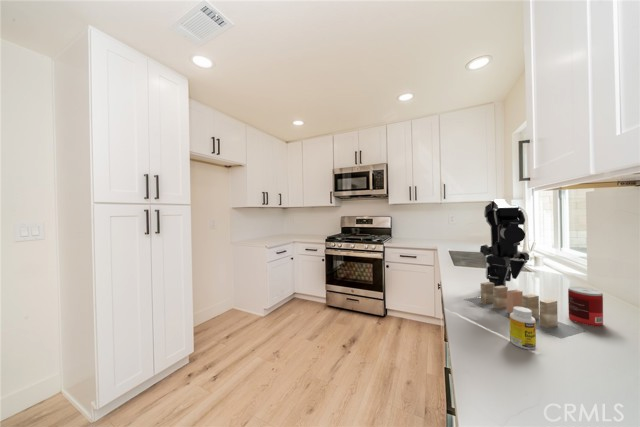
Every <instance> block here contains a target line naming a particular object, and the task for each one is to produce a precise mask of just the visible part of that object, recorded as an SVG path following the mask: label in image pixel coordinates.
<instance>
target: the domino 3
mask: <svg viewBox="0 0 640 427" xmlns="http://www.w3.org/2000/svg"><path fill="white" fill-rule="evenodd" d="M523 294H524V293H523V290H520V289H511V290H508V291H507V313H510V314H511V313H513V307H522V296H523Z"/></svg>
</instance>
